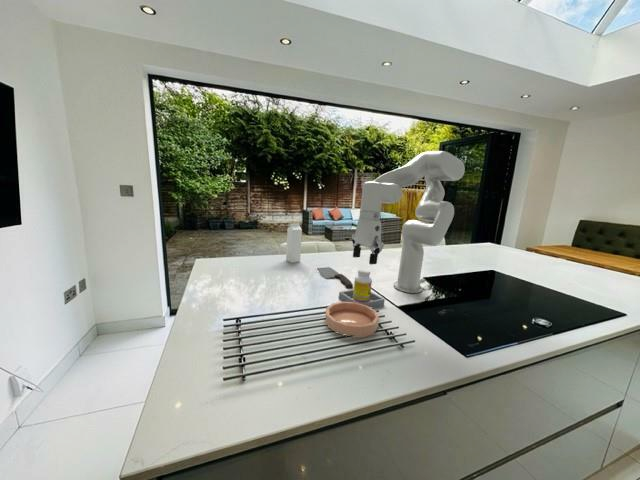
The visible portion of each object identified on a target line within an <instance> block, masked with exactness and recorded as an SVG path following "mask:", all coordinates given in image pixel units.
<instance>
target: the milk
mask: <svg viewBox="0 0 640 480" xmlns="http://www.w3.org/2000/svg"><path fill="white" fill-rule="evenodd" d="M286 231H287V232H286V248H285V249H286V252H285V261H287V262H289V263H291V264H293V263H299V261H300V262H301V254H302V253H301V252H302V237H303V236H302V235H303V234H302V233H303V229H302V228H301V226H300V223H299V222H294V223H293V222H292V223H290V225H289V226H288V227H287V229H286Z"/></svg>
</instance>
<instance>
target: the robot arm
mask: <svg viewBox="0 0 640 480" xmlns="http://www.w3.org/2000/svg"><path fill="white" fill-rule="evenodd" d="M465 169H466V167H465V164H464V162H463V161H462V160H461V159H460V158H458V157H457V156H455V155H453V154H452V153H450V152H448V151H444V150H438V151H436V150H435V151H424V152H421V153H420V154H417V156H415V157H413V158H412V159H411V160H409V161H408V162H407V163H406V164H404V165H403V166H401V167H399V168H395V169H393V170H390V171H387V172H386V173H383V174H381V175H380V176H378V177H377V178H375V179H374V180H372V181H364V183H363V184H362V189H361V190H362V191H361V201H360V208H359V217H358V221H357V223H356V229H355V233H353V234H351V239H352V240H351V242H352V247H353V252H352V258H360V257H361V251H362V247H366V248H369V249H370V252H371V253H369V262H368V263H369V265H377V264H378V263H377V262H378V256H379V254H380V253H381V252H382V251H383V248H384V246H385V243H384V242H383V241H382V221H381V220H380V219H381V217H382V215H381V213H382V205H383V204H390V205H391V204H397V203H399V202H400V201H401V199H402V198H403V195H404V192H403V189H402V188H405V187H409V186H414V185H415V184H417V183H418V182H419V181H420V180H422V179H423V178H424V180H425V190H424V193H423V194H422V197H421V199H420V200H419V202H418V204H417V206H416V209H415V211H414V213H415V217H416V218H417V219H418V220H417V219H409V220H406V221H405V222H404V223H403V225H402V228H401V238H402V243H401V244H402V245H401V254H400V259H399V266H398V274H397V275H398V276H397V280H396V281H395V282H394V283H393V287H394V288H395V289H396V290H397V291H400V292H404V293H408V294H409V293H410V294H419V293H421V292H422V291H423V287H422V286H421V284H425V283H426V279H425V278H421V275H422V269H423V268H422V267H423V261H424V255H425V253H424V247H423V245H426V246H431V247H436V246H438V245H440V244H441V242H442V241H443V239H444V238H445V236H446V234H447V231H448V229H449V227H450V225H451V224H452V221H453V218H454V216H455V207H454V205H453V204H452V202H449V201H446V200H445V201H444V197H445V194H446V193H445V189H444V186H443V185H442V184H443V183H442V182H441V181H447V182H455V181H456V182H457V181H459V180H460V179H462V178H463V176H464V174H465V172H466V171H465ZM361 246H362V247H361Z"/></svg>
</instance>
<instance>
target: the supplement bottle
mask: <svg viewBox="0 0 640 480" xmlns="http://www.w3.org/2000/svg"><path fill="white" fill-rule="evenodd" d="M370 275H371V270H370V269H367V268H359V269H358V270H357V275H355V277H354V283H353V289H354V291H353V296H352V299H353V300H355V301H356V302H358V303H364V302H369V301H371V299H370V293H371V292H372V285H373V284H372V283H373V279H372V277H371V276H370Z"/></svg>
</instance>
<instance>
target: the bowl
mask: <svg viewBox="0 0 640 480" xmlns="http://www.w3.org/2000/svg"><path fill="white" fill-rule="evenodd" d="M325 318H326V321H325V325H326V324H327V325H328V326H329V327H330V328H331V329H332V330H333V331H335V332H338V333H341V334H346V335H355V337H354V338H365V337H369V336H372V335H374V334H375V333H376V331H377V330H378V328H379V322H380V317H379V315H378V312H377V311H376V310H375V309H374V308H370V307H369V306H366V305H363V304H359V303H356V302H344V301H338V302H335V303H330V305H329V306H328V307H326V308H325V317H324V319H325ZM327 325H326V326H327ZM328 326H327V327H328ZM329 327H328V328H329ZM330 328H329V329H330ZM331 329H330V330H331ZM332 330H331V331H332ZM333 331H332V332H333ZM335 332H334V333H335ZM374 332H375V333H374ZM338 333H337V334H338ZM341 334H340V335H341Z"/></svg>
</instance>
